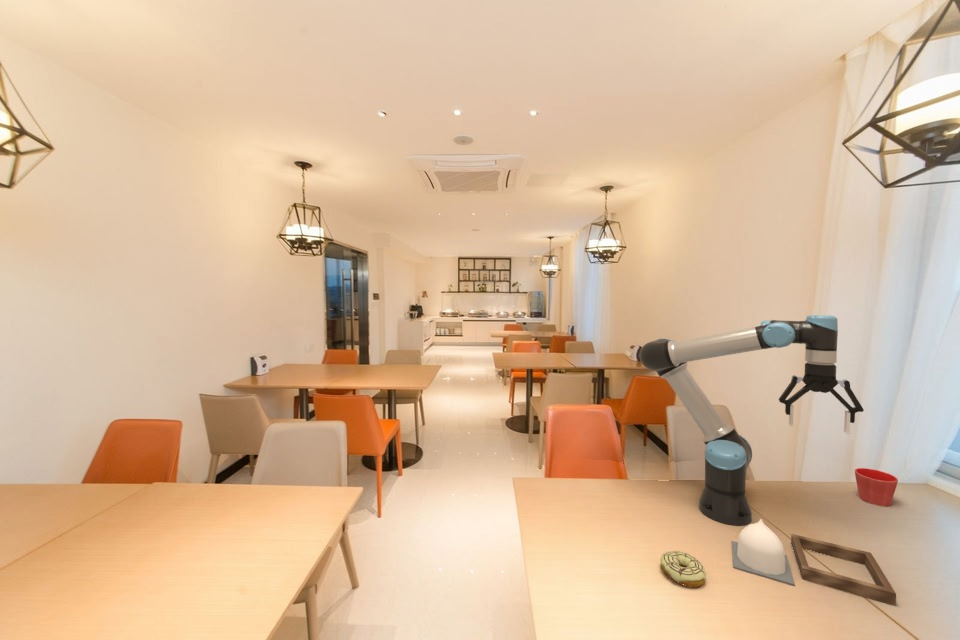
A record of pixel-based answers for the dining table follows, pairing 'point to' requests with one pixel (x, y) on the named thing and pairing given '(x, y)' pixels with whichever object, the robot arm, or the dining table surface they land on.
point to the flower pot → (875, 486)
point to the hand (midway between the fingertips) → (818, 428)
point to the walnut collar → (861, 588)
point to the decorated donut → (683, 568)
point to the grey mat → (784, 577)
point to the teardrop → (761, 549)
